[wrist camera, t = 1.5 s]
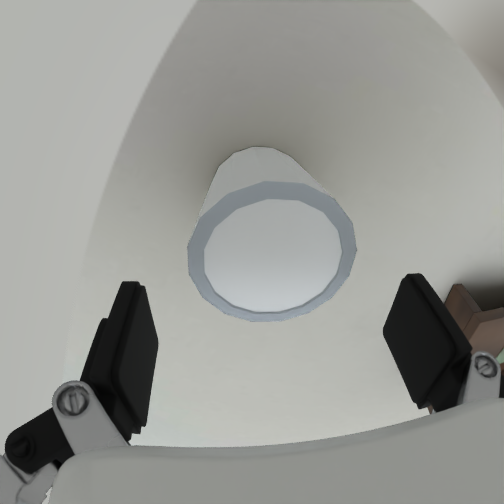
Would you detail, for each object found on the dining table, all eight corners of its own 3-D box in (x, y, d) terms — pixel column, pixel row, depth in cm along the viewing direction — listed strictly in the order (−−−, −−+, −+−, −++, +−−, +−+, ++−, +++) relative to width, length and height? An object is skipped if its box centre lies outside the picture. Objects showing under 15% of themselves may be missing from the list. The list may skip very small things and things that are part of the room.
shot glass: (238, 259, 21) (244, 343, 15) (176, 175, 17) (150, 241, 11) (333, 210, 19) (376, 282, 13) (283, 113, 15) (317, 146, 10)
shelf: (453, 284, 24) (491, 340, 18) (544, 273, 25) (574, 309, 19) (409, 365, 30) (430, 415, 25) (503, 340, 32) (525, 376, 26)
